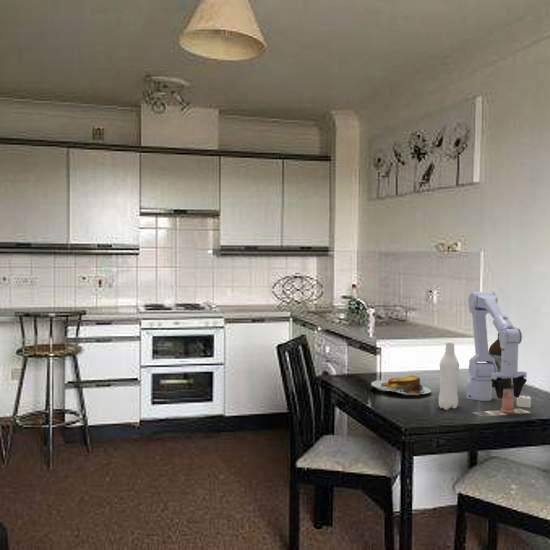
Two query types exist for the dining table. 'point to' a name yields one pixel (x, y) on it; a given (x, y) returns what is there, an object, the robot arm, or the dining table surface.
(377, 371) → the dining table surface
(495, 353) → the olive oil
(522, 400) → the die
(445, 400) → the water bottle
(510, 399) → the pawn
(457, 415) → the dining table surface
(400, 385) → the food on plate
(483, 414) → the board
